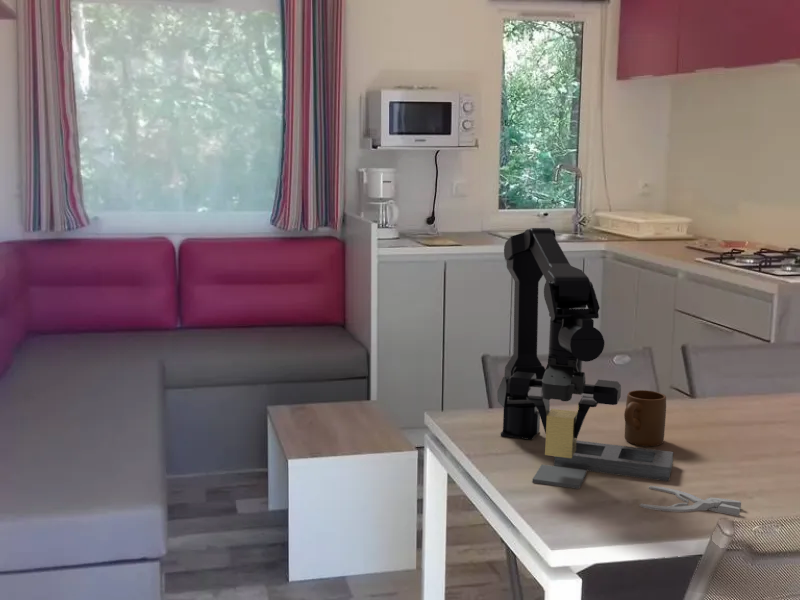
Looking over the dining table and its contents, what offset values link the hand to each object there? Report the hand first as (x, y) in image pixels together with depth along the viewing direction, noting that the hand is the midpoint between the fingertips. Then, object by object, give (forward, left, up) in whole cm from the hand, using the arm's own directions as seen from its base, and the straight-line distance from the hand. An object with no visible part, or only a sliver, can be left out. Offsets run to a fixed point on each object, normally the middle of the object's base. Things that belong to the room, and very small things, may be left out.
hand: (561, 435), depth 165 cm
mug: (+11, +25, -8) cm, 28 cm away
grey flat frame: (+8, +10, -8) cm, 15 cm away
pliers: (+22, -4, -8) cm, 24 cm away
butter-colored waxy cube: (0, 0, -3) cm, 3 cm away
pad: (0, 0, -8) cm, 8 cm away
